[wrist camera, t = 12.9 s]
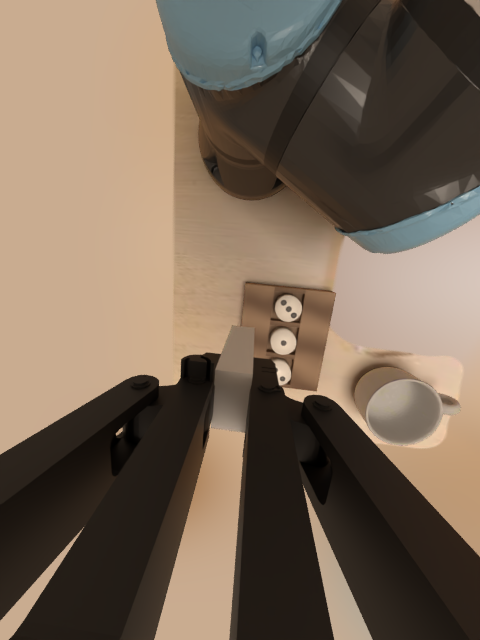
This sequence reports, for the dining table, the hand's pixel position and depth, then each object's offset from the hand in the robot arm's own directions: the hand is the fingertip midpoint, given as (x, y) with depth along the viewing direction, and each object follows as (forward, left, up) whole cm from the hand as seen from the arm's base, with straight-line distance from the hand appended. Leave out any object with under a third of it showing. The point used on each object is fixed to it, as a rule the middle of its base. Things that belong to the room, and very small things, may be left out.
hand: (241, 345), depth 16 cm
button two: (+12, +6, -23) cm, 27 cm away
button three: (+1, +6, -23) cm, 24 cm away
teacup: (+14, +26, -25) cm, 38 cm away
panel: (+7, +6, -24) cm, 26 cm away
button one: (+6, +6, -23) cm, 25 cm away
